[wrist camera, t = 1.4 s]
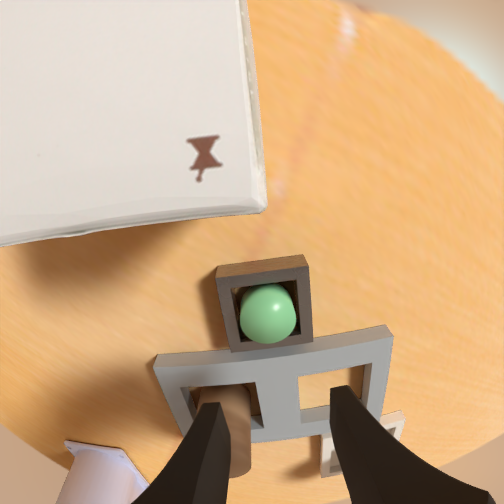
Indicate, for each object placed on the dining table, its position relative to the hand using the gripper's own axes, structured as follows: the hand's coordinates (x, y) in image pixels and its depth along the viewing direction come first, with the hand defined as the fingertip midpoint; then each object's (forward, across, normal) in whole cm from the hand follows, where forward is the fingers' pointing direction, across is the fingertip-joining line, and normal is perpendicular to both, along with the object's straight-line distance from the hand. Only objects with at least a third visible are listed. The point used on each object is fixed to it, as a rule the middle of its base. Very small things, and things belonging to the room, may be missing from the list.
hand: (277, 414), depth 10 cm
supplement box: (+10, +3, -12) cm, 15 cm away
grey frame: (+9, 0, +8) cm, 12 cm away
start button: (+9, 0, 0) cm, 9 cm away
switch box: (+9, 0, 0) cm, 9 cm away
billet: (+9, +4, +8) cm, 13 cm away
